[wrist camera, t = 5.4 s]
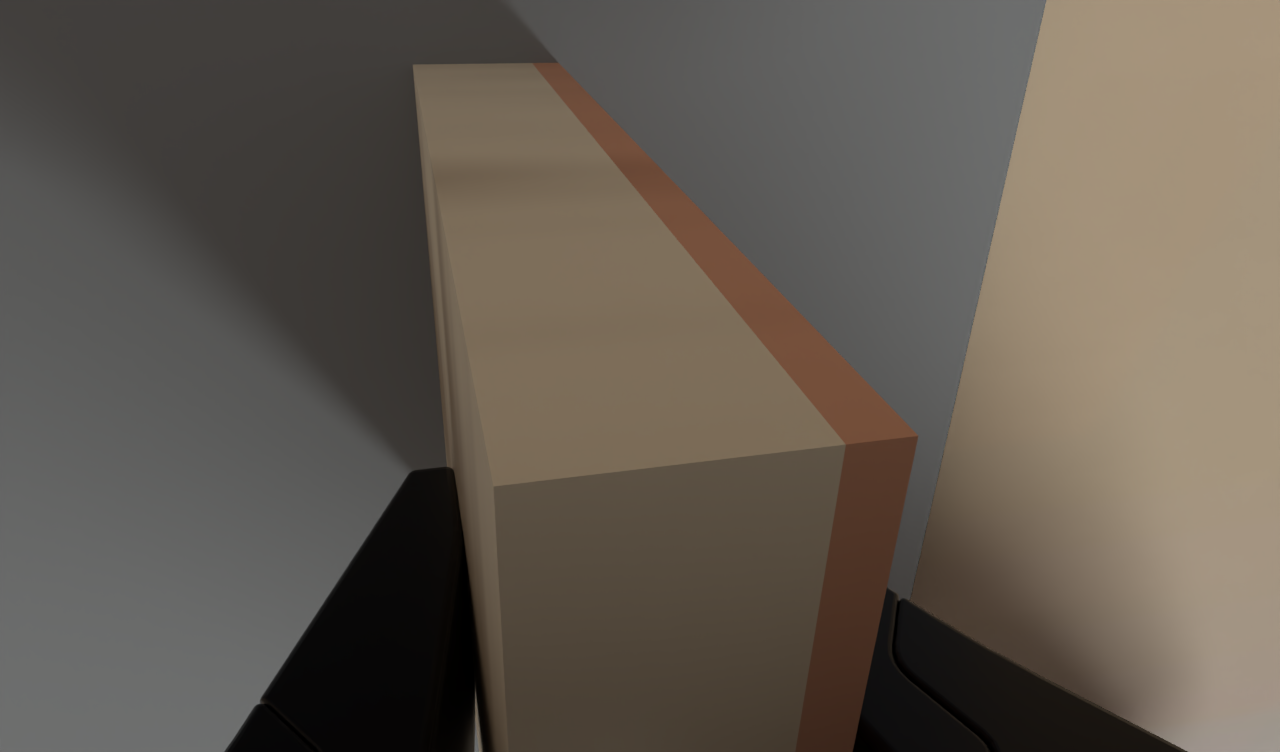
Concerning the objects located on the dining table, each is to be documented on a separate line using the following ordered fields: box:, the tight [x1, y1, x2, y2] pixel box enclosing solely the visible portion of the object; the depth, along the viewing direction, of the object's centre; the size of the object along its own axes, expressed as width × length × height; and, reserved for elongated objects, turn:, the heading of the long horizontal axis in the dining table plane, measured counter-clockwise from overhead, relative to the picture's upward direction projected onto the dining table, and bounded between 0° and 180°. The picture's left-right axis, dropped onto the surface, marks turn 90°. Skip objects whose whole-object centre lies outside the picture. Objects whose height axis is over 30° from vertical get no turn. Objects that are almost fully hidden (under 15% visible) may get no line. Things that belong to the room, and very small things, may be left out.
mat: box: [0, 0, 1046, 752], centre depth 11 cm, size 22×18×1 cm
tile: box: [413, 63, 918, 752], centre depth 8 cm, size 6×2×8 cm, turn 178°
